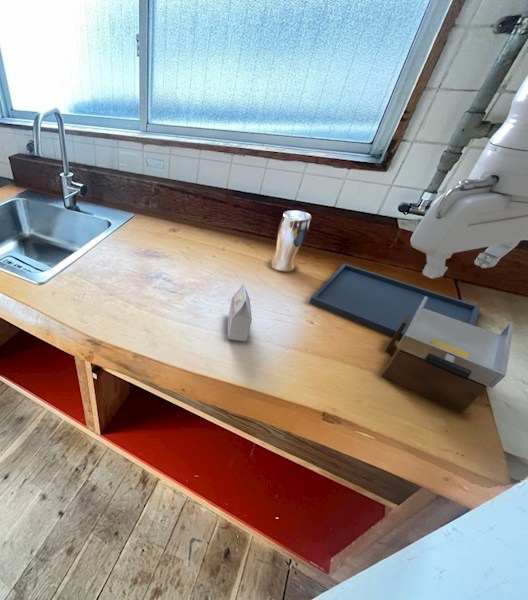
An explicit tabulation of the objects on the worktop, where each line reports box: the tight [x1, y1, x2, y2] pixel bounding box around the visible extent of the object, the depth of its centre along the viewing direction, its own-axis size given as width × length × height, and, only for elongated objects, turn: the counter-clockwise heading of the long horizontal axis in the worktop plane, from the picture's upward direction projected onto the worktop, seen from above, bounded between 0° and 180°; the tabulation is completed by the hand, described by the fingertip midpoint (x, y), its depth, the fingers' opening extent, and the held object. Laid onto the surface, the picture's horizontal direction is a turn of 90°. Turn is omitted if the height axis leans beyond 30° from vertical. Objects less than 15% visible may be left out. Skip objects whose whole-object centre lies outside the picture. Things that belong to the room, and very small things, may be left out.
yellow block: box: [430, 339, 470, 358], centre depth 53 cm, size 5×2×1 cm, turn 44°
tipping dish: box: [396, 296, 515, 389], centre depth 53 cm, size 12×19×3 cm, turn 134°
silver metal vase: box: [270, 209, 312, 273], centre depth 85 cm, size 7×7×15 cm
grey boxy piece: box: [227, 283, 253, 342], centre depth 67 cm, size 4×7×10 cm, turn 166°
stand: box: [381, 315, 488, 415], centre depth 56 cm, size 14×11×8 cm
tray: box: [308, 263, 481, 341], centre depth 74 cm, size 28×22×2 cm
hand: (457, 270), depth 47 cm, fingers open, 8 cm apart
